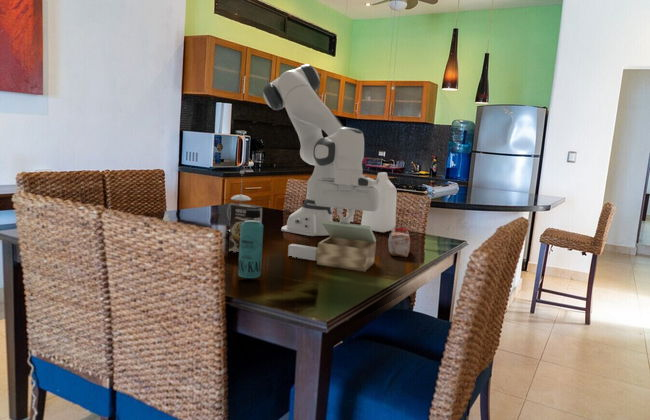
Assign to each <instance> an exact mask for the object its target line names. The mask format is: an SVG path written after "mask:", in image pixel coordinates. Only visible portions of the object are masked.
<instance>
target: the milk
mask: <svg viewBox="0 0 650 420" xmlns="http://www.w3.org/2000/svg"><path fill="white" fill-rule="evenodd" d="M375 180H376V186H375V187H374V188H376V189H377V191H378V209H377V210H376V211H364V210H362V214H361V222H360V225H364V226H370V227H371V230H372V232H373V231H374V232H379V233H386V232H390V231H392V229H394V227H395V228H396V219H397V218H396V217H397V199H398V198H397V193H398V192H397V188H396V186H395V185H394V184H393V183H392V182H391V180H390V178H389V177H388V173H387V172H384V171H383V172H378V173H377V177H376V179H375Z"/></svg>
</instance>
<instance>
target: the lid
mask: <svg viewBox="0 0 650 420" xmlns="http://www.w3.org/2000/svg"><path fill="white" fill-rule="evenodd" d="M332 221H333V220H332ZM332 221H324V220H322V225H323V226H324V228H325V229H326V231H327V232H328V234H329V235H328V236H329V237H336V238H344V239H351V240H359V241H366V242H374V243H376V242H377V238H376V236H375V234H374V232H373V230H371V227H370V226H364V225H361V224H355V223H349V224H348V223H340V221H339V222H338V221H333V222H332ZM376 244H377V243H376Z"/></svg>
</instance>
